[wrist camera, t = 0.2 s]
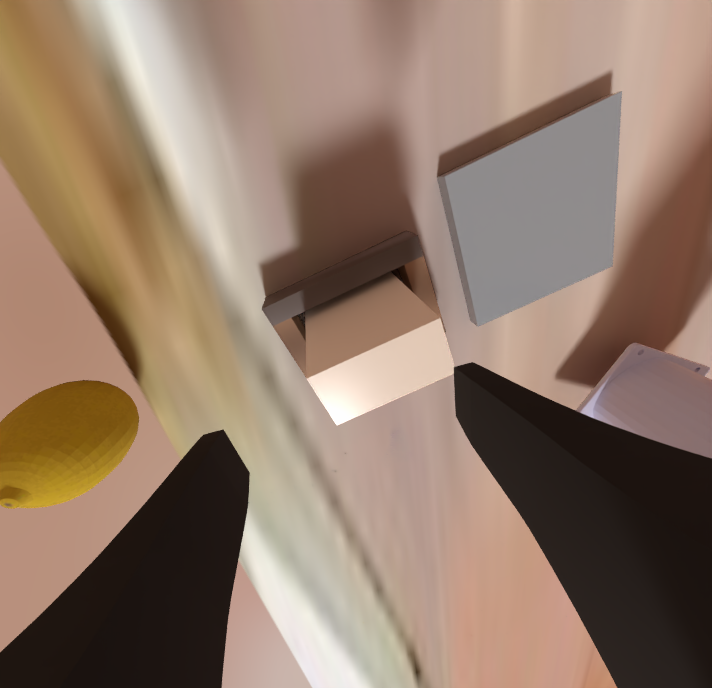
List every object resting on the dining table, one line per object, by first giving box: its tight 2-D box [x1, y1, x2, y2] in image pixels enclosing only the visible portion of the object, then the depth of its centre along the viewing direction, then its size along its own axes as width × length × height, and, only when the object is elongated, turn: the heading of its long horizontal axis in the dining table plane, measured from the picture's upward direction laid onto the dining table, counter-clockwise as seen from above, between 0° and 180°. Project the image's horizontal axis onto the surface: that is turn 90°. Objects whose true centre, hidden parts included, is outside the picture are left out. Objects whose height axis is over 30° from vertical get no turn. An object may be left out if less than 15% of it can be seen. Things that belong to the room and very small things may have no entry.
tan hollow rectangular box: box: [262, 231, 446, 378], centre depth 19 cm, size 7×10×2 cm
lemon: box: [0, 380, 139, 508], centre depth 16 cm, size 6×6×8 cm
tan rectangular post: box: [305, 272, 455, 425], centre depth 16 cm, size 3×6×8 cm, turn 113°
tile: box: [437, 91, 622, 326], centre depth 18 cm, size 10×10×1 cm
